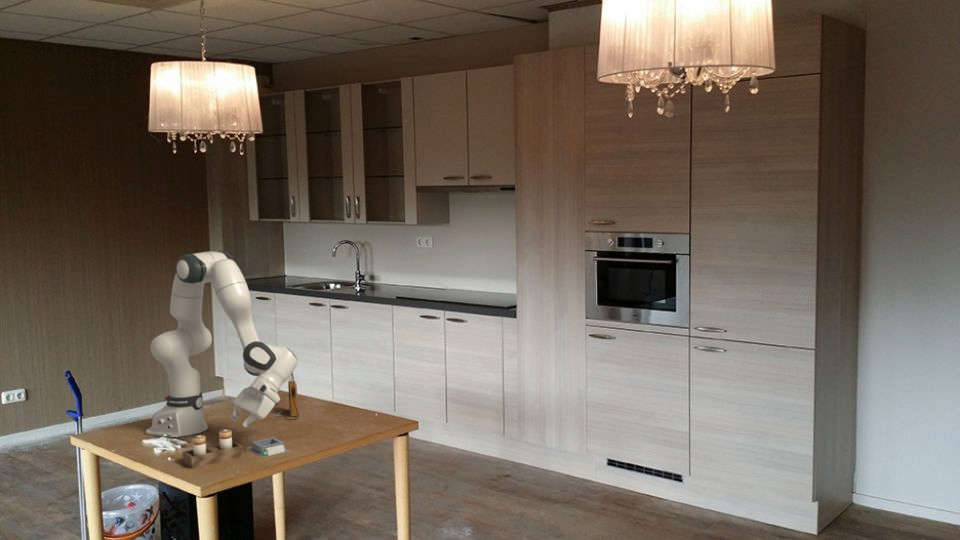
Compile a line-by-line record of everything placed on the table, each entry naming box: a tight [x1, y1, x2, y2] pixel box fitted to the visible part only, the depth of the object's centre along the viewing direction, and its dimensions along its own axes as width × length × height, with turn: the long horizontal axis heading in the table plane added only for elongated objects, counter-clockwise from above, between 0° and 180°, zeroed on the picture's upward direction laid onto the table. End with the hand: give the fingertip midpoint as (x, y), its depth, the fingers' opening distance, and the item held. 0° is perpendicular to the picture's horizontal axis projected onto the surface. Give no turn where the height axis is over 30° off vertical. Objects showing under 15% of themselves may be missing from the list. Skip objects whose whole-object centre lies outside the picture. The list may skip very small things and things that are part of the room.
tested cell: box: [218, 429, 233, 450], centre depth 284 cm, size 4×4×9 cm
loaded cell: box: [192, 434, 207, 456], centre depth 278 cm, size 4×4×9 cm
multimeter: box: [274, 371, 299, 421], centre depth 334 cm, size 15×10×20 cm
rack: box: [182, 440, 245, 469], centre depth 282 cm, size 18×8×4 cm, turn 129°
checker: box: [246, 436, 291, 458], centre depth 290 cm, size 10×14×4 cm
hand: (237, 423), depth 286 cm, fingers open, 8 cm apart
